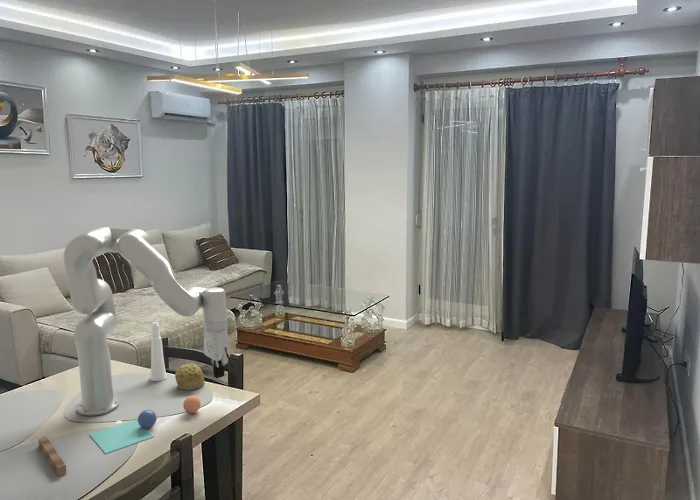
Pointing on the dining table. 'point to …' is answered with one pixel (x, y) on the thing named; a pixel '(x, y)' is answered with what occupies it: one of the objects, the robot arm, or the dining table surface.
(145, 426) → the navy ball
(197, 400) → the orange ball
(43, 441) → the walnut rail
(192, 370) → the rock
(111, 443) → the teal mark
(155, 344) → the cosmetic bottle
